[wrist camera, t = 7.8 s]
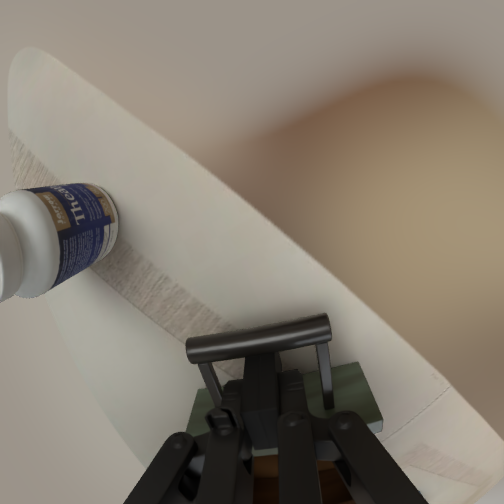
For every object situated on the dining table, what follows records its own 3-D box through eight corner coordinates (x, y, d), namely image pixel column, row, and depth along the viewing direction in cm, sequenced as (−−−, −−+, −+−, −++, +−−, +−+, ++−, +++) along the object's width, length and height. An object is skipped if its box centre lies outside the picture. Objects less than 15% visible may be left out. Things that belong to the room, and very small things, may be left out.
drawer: (168, 314, 18) (133, 367, 12) (351, 278, 17) (386, 324, 11) (241, 475, 22) (236, 522, 16) (358, 456, 21) (371, 503, 15)
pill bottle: (132, 200, 17) (19, 229, 7) (108, 273, 18) (13, 343, 9) (71, 170, 17) (-42, 180, 7) (52, 240, 18) (-47, 283, 8)
